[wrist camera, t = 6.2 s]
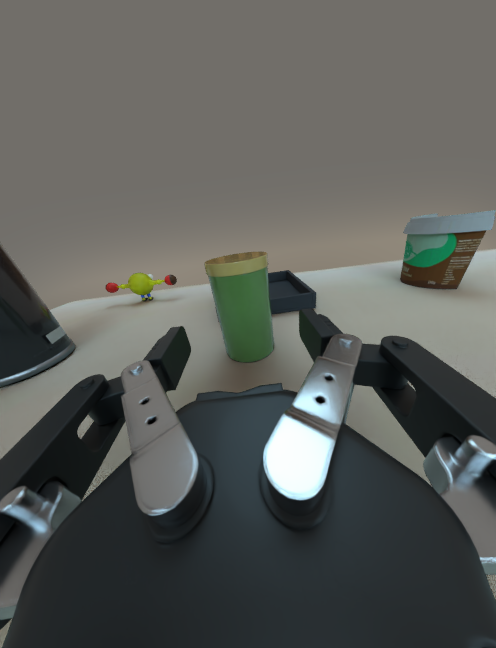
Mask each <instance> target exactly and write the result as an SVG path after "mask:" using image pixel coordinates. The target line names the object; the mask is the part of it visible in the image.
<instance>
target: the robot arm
mask: <svg viewBox="0 0 496 648" xmlns="http://www.w3.org/2000/svg"><path fill="white" fill-rule="evenodd" d="M299 332H300V337H301V339H302V341H303V343H304V345H305V347H306V348H307V350H308V352H309V354H310V356H311V358H312V359H313V361H314V364H313V366H312V368H311V369H310V371H309V373H308V375H307V377H306V379H305V381H304V383H303V384H302V386H301V388H300V390H299V392H298V393H297V392H294V391H290V390H283V387H282V383H277V384H269V385H262V386H258V387H255V388H252V389H249V390H246V391H243V392H240V393H234V392H223V391H214V392H206V393H199V394H197V398H196V401H194V402H191V403H189V404H187V405H185V406H184V407H182V408H181V409H179V410H178V411H177V412H175V410H174V409H173V407H172V405H171V403H170V401H169V399H168V397H167V395H166V392H167V391H171V390H176V387H177V385H178V383H179V380H180V378H181V375H182V373H183V370H184V368H185V366H186V363H187V361H188V358H189V356H190V353H191V346H190V343H189V340H188V337H187V334H186V332H185V329H184V327H183V326H180V327H173V328H170V330H169V331H168V332H167V334H166V335H165V336H163V337H162V338H160V339H159V340H158V341H157V343H156V344H155V346H153V348H152V350H150V352H149V353H148V354H147V356H146V357H145V358H144V360H143V361H139V362H136V363H133V364H131V365H130V366H128V367H127V368H126V369H124V370H123V372H122V373H121V377H118V378H115V379H112V380H109V381H107V380H106V378H105V377H104V376H103V375H101V374H98V375H93V376H91V377H88V378H86V379H84V380H82V381H81V382H79V383H78V384H76V385H75V386H74V387H73V388H72V389H71V390H70V391H69V392H68V393H67V394H66V395H65V396H64V397H63V398H62V399H61V400H60V401H59V402H58V403H57V404H56V405H55V406H54V407H53V408H52V409H51V410H50V411H49V412H48V413H47V414H46V415H45V416H44V417H43V418H42V419H41V420H40V421H39V422H38V423H37V424H36V425H35V426H34V427H33V428H32V429H31V430H30V431H29V432H28V433H27V434H26V435H25V436H24V437H23V438H22V439H21V440H20V441H19V442H18V443H17V444H16V445H15V446H14V447H13V448H12V449H11V450H10V451H9V452H8V453H7V454H6V455H5V456H4V457H3V458H2V459H1V460H0V629H1V628H3V627H4V626H5V625H6V624H7V623H8V622H9V621H10V620H11V619H12V618H13V619H12V622H11V625H10V627H9V630H8V633H7V636H6V638H5V641H4V644H3V646H2V648H496V600H495V598H494V595H493V593H492V591H491V588H490V585H489V583H488V580H487V577H486V575H496V398H494V397H493V396H491V395H490V394H489V393H487V392H486V391H484V390H483V389H481V388H480V387H479V386H477V385H476V384H474V383H473V382H471V381H470V380H469V379H467V378H466V377H464V376H463V375H461V374H460V373H459V372H457V371H456V370H454V369H453V368H451V367H450V366H449V365H447V364H446V363H444V362H443V361H441V360H440V359H439V358H437V357H436V356H434V355H433V354H432V353H430V352H429V351H427V350H426V349H424V348H423V347H422V346H420V345H419V344H417V343H416V342H414V341H412V340H410V339H408V338H404V337H399V336H387V337H384V338H383V339H382V340H381V344H380V345H373V344H362V341H361V340H360V339H359V338H358V337H356V336H353V335H349V334H343V333H342V332H341V331H340V330H339V329H338V328H337V327H336V326H335V325H334V324H333V323H332V322H331V321H330V320H329V319H328V318H327V317H326V316H324V315H321V314H318V315H317V314H316V312H315V311H314V310H313V309H312V308H309V309H302V310H300V311H299ZM74 349H75V344H74V343H73V341H72V340H71V339H69V337H68V336H67V334H66V333H65V332H64V330H63V329H62V327H61V326H60V325H59V323H58V322H57V320H56V319H55V317H54V316H53V315H52V313H51V312H50V310H49V309H48V308H47V306H46V305H45V303H44V302H43V301H42V299H41V298H40V297H39V296H38V294H37V292H36V291H35V289H34V288H33V287H32V285H31V284H30V282H29V281H28V280H27V278H26V277H25V276H24V274H23V273H22V271H21V270H20V269H19V267H18V266H17V264H16V263H15V262H14V260H13V259H12V257H11V256H10V255H9V253H8V252H7V250H6V249H5V248H4V247H3V245H2V244H1V242H0V387H2V386H6V385H9V384H12V383H15V382H18V381H21V380H23V379H26V378H28V377H30V376H33V375H35V374H37V373H39V372H41V371H43V370H45V369H47V368H49V367H51V366H53V365H55V364H56V363H58V362H59V361H61V360H62V359H64V358H65V357H67V356H68V355H69V354H70V353H71V352H72V351H73V350H74ZM408 381H409V382H410V383H411V384H412V385H413V386H414V388H415V390H416V391H415V390H414V389H413V388H412V387H411V386H410V385H409V384H408V383H407V382H408ZM354 385H363V386H371V387H373V389H374V390H375V391H376V393H377V394H378V395H379V397H380V398H381V399H382V401H383V402H384V403H385V405H386V406H387V407H388V409H389V410H390V411H391V413H392V414H393V415H394V417H395V418H396V419H397V421H398V422H399V423H400V425H401V426H402V427H403V429H404V430H405V431H406V433H407V434H408V435H409V437H410V438H411V439H412V441H413V442H414V443H415V445H416V446H417V447H418V449H419V450H420V451H421V453H422V454H423V455H424V457H425V460H424V463H423V467H424V471H425V474H426V476H427V478H428V479H429V481H430V483H431V485H432V486H431V485H429V484H428V483H427V482H426V481H425V480H424V479H422V478H421V477H420V476H418V475H417V474H416V473H414V472H413V471H412V470H410V469H409V468H407V467H406V466H405V465H403V464H402V463H400V462H399V461H397V460H396V459H395V458H393V457H392V456H390V455H389V454H387V453H386V452H385V451H383V450H382V449H380V448H379V447H377V446H376V445H375V444H373V443H372V442H370V441H369V440H367V439H366V438H365V437H363V436H362V435H360V434H359V433H357V432H356V431H355V430H353V429H352V428H350V427H349V426H347V425H346V419H347V414H348V410H349V406H350V401H351V397H352V393H353V389H354ZM87 415H89V416H90V417H91V418H92V419H93V420H94V422H93V423H92V425H91V426H90V428H89V429H88V430H87V432H86V433H85V435H84V436H83V437H82V439H80V438H79V437H78V435H77V430H78V427H79V425H80V424H81V422H82V421H83V420H84V419H85V417H86V416H87ZM125 421H126V425H127V431H128V436H129V441H130V446H131V452H132V454H131V455H130V456H129V457H128V458H127V459H126V460H125V461H124V462H123V463H122V464H121V465H120V466H119V467H118V468H117V469H116V470H115V471H114V472H113V473H111V474H110V475H109V476H108V477H107V478H106V479H105V480H104V481H103V482H102V483H101V484H100V485H99V486H98V487H97V488H96V489H95V490H94V491H93V492H92V493H91V494H90V495H89V496H87V497H86V498H85V499H84V500H83V501H82V499H83V497H84V495H85V493H86V491H87V490H88V488H89V486H90V484H91V482H92V481H93V479H94V477H95V475H96V473H97V471H98V470H99V468H100V466H101V464H102V462H103V461H104V459H105V457H106V455H107V453H108V451H109V450H110V448H111V446H112V444H113V442H114V441H115V439H116V437H117V435H118V433H119V431H120V430H121V428H122V426H123V424H124V422H125ZM81 501H82V502H81Z"/></svg>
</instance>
